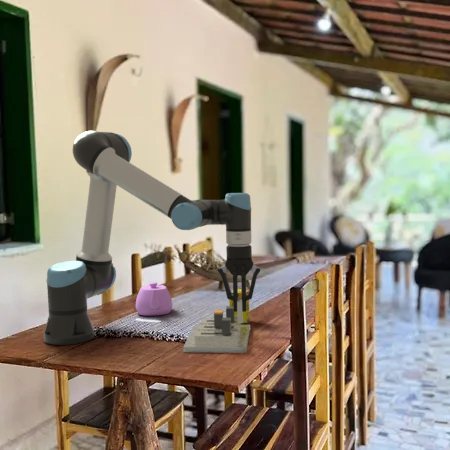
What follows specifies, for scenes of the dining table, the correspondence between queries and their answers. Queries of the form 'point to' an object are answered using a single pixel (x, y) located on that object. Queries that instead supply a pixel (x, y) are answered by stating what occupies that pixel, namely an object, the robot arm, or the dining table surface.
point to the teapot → (153, 300)
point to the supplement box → (246, 314)
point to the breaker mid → (218, 318)
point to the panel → (219, 347)
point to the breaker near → (226, 325)
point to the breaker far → (230, 312)
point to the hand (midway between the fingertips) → (240, 322)
